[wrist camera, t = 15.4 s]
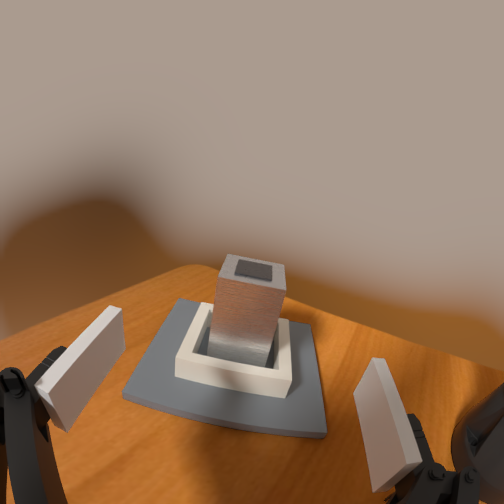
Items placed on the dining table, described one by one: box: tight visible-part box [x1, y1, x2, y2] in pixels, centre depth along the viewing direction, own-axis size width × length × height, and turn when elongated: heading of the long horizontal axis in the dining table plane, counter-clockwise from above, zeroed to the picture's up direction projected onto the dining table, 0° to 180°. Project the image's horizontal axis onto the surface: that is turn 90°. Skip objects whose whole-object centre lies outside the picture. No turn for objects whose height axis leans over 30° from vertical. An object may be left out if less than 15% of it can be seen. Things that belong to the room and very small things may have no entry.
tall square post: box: [207, 254, 286, 368], centre depth 27 cm, size 6×6×10 cm
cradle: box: [122, 298, 327, 438], centre depth 29 cm, size 18×18×4 cm
